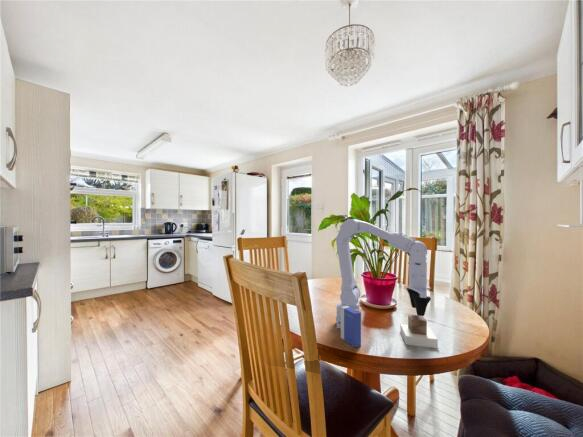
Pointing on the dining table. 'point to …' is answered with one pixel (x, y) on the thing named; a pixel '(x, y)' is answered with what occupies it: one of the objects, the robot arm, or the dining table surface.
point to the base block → (418, 337)
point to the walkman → (351, 326)
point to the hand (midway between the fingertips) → (417, 311)
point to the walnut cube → (417, 324)
